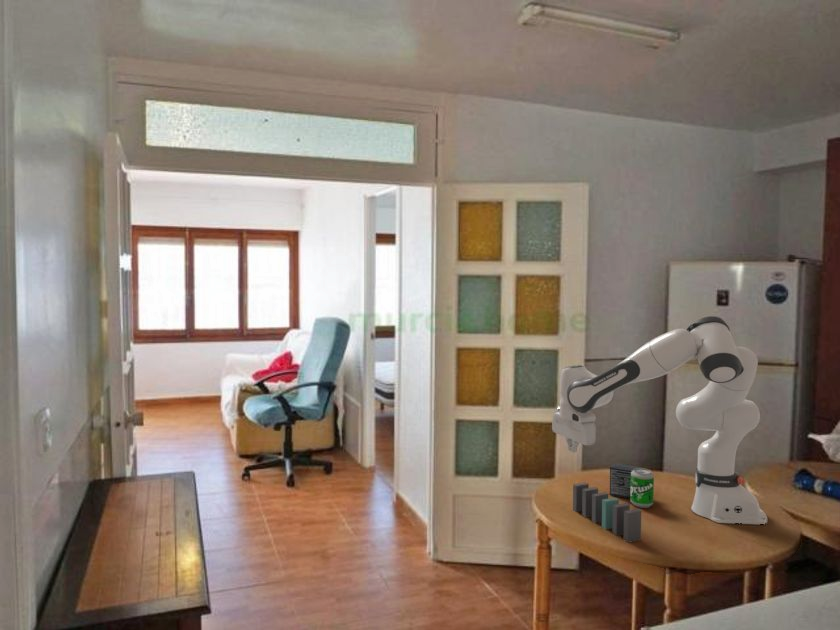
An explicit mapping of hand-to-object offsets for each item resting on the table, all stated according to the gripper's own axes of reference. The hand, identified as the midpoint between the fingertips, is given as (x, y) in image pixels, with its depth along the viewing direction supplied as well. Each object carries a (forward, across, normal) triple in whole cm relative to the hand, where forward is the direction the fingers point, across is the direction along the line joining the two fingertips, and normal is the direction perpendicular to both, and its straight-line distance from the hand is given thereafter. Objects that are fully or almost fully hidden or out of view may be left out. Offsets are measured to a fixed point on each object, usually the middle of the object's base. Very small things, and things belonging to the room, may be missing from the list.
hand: (572, 451), depth 208 cm
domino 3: (+19, +15, 0) cm, 24 cm away
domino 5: (+19, +25, 0) cm, 31 cm away
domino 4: (+19, +20, 0) cm, 28 cm away
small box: (+19, 0, +24) cm, 31 cm away
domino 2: (+19, +10, 0) cm, 22 cm away
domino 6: (+19, +30, 0) cm, 36 cm away
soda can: (+19, +9, +22) cm, 31 cm away
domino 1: (+19, +5, 0) cm, 20 cm away
